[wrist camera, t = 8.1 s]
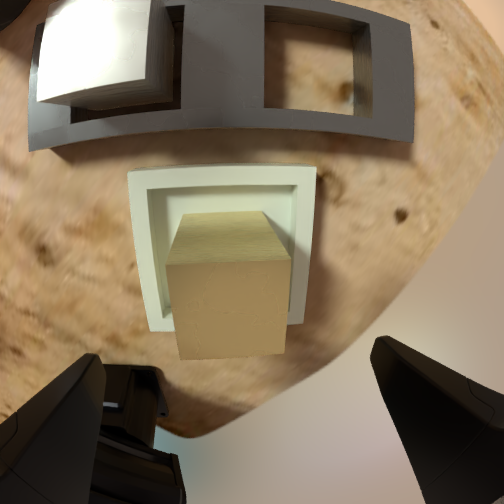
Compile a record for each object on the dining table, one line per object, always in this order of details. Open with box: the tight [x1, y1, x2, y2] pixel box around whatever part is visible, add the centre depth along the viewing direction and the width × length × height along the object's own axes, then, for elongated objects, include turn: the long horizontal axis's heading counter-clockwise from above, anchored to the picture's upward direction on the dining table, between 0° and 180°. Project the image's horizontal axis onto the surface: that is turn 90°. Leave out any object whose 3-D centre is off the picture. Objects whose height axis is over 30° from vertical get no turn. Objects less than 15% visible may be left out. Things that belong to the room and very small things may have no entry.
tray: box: [127, 163, 316, 331], centre depth 17 cm, size 10×10×2 cm
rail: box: [28, 0, 414, 152], centre depth 13 cm, size 8×22×2 cm, turn 89°
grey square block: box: [37, 0, 175, 111], centre depth 10 cm, size 4×4×7 cm
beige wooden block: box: [165, 211, 291, 360], centre depth 14 cm, size 4×4×7 cm
